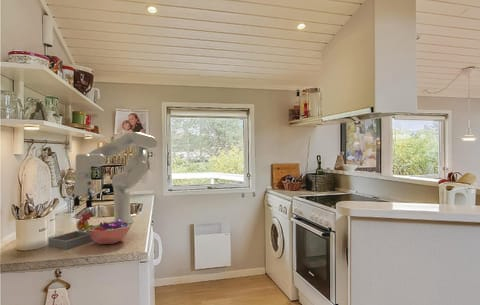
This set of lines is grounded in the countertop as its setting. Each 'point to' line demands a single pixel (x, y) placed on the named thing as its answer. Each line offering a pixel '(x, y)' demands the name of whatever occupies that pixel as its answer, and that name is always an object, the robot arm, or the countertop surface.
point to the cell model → (109, 232)
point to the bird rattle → (84, 223)
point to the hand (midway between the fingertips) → (82, 206)
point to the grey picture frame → (70, 239)
